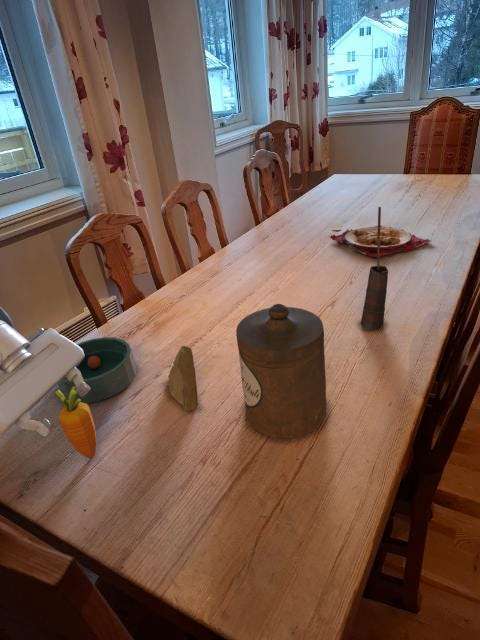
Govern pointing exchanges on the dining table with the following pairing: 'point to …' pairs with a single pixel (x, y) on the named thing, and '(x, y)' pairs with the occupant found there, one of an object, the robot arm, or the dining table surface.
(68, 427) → the carrot
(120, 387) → the bowl
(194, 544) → the dining table surface
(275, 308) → the wooden container
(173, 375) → the rock
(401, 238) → the plate with food
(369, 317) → the butter churn
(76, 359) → the robot arm
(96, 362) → the ball
